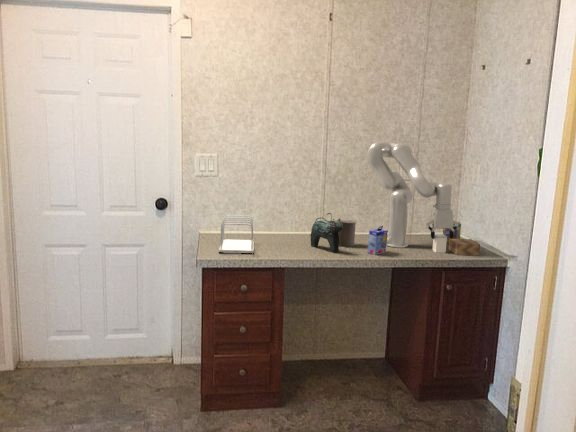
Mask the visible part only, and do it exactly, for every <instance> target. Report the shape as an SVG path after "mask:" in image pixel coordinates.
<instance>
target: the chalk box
mask: <svg viewBox="0 0 576 432" xmlns="http://www.w3.org/2000/svg"><path fill="white" fill-rule="evenodd" d="M454 221H455V220H454ZM455 222H457V223H459V225H458V227H457V228H456V229H455V231H454V232H453V238H452V239H461V230H462V223H461V222H460V221H455ZM454 226H455V224H454V223H453V227H454ZM449 231H450V229H442V235H445V236H447V242H446V243H449V239H450V238H449Z"/></svg>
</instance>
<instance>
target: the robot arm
mask: <svg viewBox="0 0 576 432" xmlns="http://www.w3.org/2000/svg"><path fill="white" fill-rule="evenodd" d="M366 158H367V159H366V160H367V163H368V165H369V167H370V168H371V170H372V171H373V172H374V175H375V176H376V178H377V179H378V181H379V182H380V184H381V186H382V188H384V189H385V190H387V191H390V190H391V194H390V197H389V224H388V234H387V243H386V247H389V248H397V249H398V248H399V249H402V248H408V247H409V243H407V242H406V241H407V240H406V238H407V225H408V204H410V203H411V202H412V200H413V198H414V195H413V192H412V190H411V188H410V186H409V185H408V184H407V183H406V180H405V179H404V178H403V176H402V175H401V174H400V173H399V172H397V171H392V169H391V167H390V166H389V164H388V163H387V161H386V160H384V158H392V159H394V160H395V161H396V163H397V164H398V165H399V166H400V168H401V169H402V170H403V171H404V172H405V175H407V178H408V179H409V182H410V183H411V185H412V186H413V187H414V189H415V190H416V192H417V193H418V194H419V195H420V196H421V197H423V198H424V199H425V198H426V199H428V198H431V197H436V198H435V204H433V208H435V209H434V211H433V214H432V215H433V216H432V220H430V221H428V222H426V224H425V225H426V226H427V228H428V230H429V231H430V238H431V239H432V240H433V239H435V234H436V232H435V231H436V230H437V229H439V230H440V229H441V230H443V229H450V231H449V238H450V239H452V238H453V232H454V231H455V229H456V228H457V227H458V225H459V223H457V222H458V221H457V222H455V220H454V213H453V209H452V189H453V187H452V185H451V183H445V182H444V183H438V182H437V183H436V182H431V181H428V180H427V179H426V177H425V176H424V174H423V172H422V169H421V165H420V163H419V162H418V160H417V159H416V158H415V156H414V155H413V154H412V149H411V147H410V146H409V145H408V144H405V143H398V142H391V141H376V142H373V143H372V144H371V145H370V146H369V148H368V150H367V153H366ZM453 223H454V224H455V226H454V227H453ZM431 224H432V227H431Z"/></svg>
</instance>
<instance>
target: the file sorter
mask: <svg viewBox="0 0 576 432" xmlns="http://www.w3.org/2000/svg"><path fill="white" fill-rule="evenodd" d="M226 225H227V226H228V225H229V226H230V225H232V226H250V228H251V230H250V231H251V233H250V234H251V236H250V237H251V239H229V238H228V239H226V238H225V226H226ZM253 238H254V220H253V217H252V216H251V215H247V214H246V215H245V214H244V215H243V214H241V215H240V214H236V215H235V214H227V215H225V216H224V217H223V219H222V222H221V225H220V246H219V249H218V253H219V252H224V253H223V254H241V253H252V254H251V255H253V253H255V247H254V246H255V245H254V239H253Z"/></svg>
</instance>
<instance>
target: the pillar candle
mask: <svg viewBox="0 0 576 432" xmlns="http://www.w3.org/2000/svg"><path fill="white" fill-rule="evenodd" d="M340 220H341V222H342V224H343V229H342V231H340V232H338V234H339V247H341V248H353V247H354V246H355V237H356V236H355V235H356V220H352V219H340Z"/></svg>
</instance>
